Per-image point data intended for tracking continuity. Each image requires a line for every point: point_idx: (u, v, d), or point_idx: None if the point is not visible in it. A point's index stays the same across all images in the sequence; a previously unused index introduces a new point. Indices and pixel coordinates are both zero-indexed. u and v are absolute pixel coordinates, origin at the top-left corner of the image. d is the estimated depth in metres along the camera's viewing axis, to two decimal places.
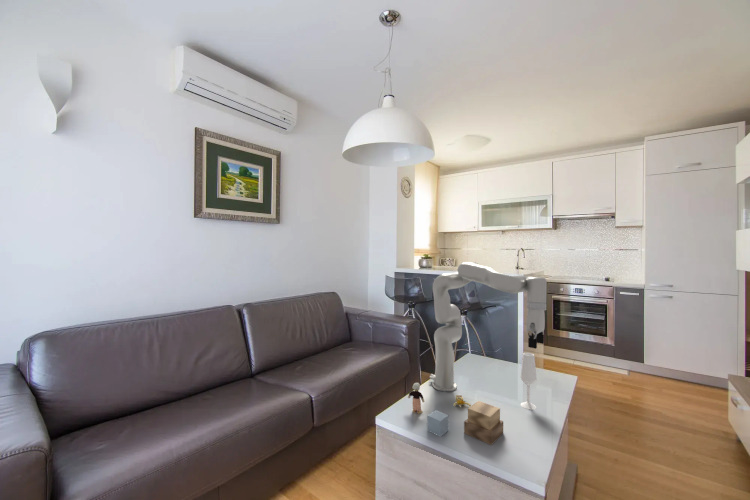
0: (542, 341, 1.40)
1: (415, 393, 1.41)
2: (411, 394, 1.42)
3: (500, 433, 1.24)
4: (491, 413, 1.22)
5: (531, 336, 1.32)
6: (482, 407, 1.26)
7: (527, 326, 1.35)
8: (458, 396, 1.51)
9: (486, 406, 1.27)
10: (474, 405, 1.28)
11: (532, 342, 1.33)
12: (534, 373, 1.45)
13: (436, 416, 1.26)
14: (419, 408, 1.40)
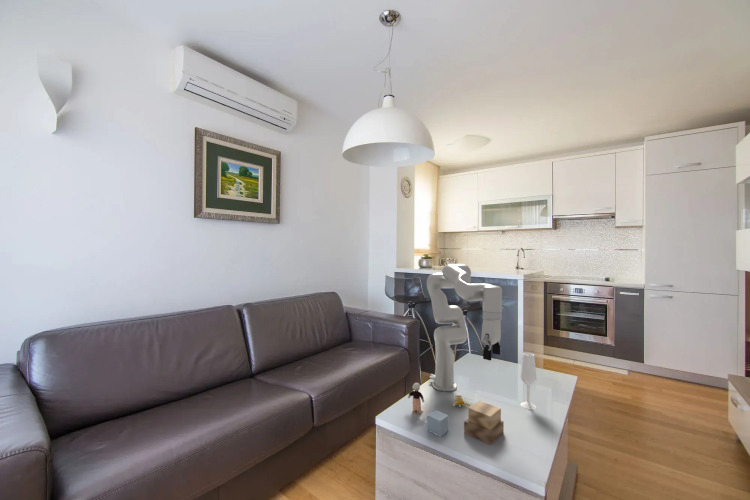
0: (498, 352, 1.35)
1: (415, 393, 1.41)
2: (411, 394, 1.42)
3: (500, 433, 1.24)
4: (491, 413, 1.22)
5: (485, 348, 1.27)
6: (483, 407, 1.26)
7: (482, 337, 1.30)
8: (458, 396, 1.50)
9: (487, 406, 1.27)
10: (475, 405, 1.28)
11: (487, 354, 1.28)
12: (534, 373, 1.45)
13: (436, 416, 1.26)
14: (419, 408, 1.40)
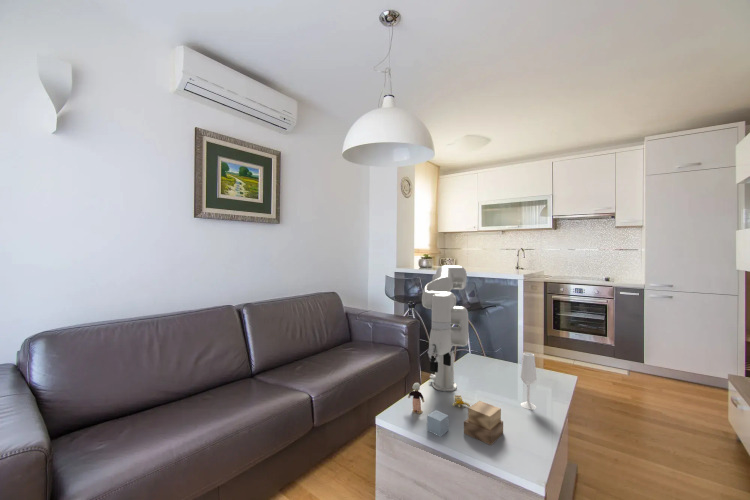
0: (449, 363, 1.30)
1: (415, 393, 1.41)
2: (411, 394, 1.42)
3: (500, 433, 1.23)
4: (491, 413, 1.22)
5: (431, 359, 1.22)
6: (482, 407, 1.26)
7: (429, 348, 1.25)
8: (457, 396, 1.50)
9: (487, 406, 1.27)
10: (474, 405, 1.28)
11: (433, 365, 1.23)
12: (534, 373, 1.45)
13: (436, 416, 1.26)
14: (419, 408, 1.40)
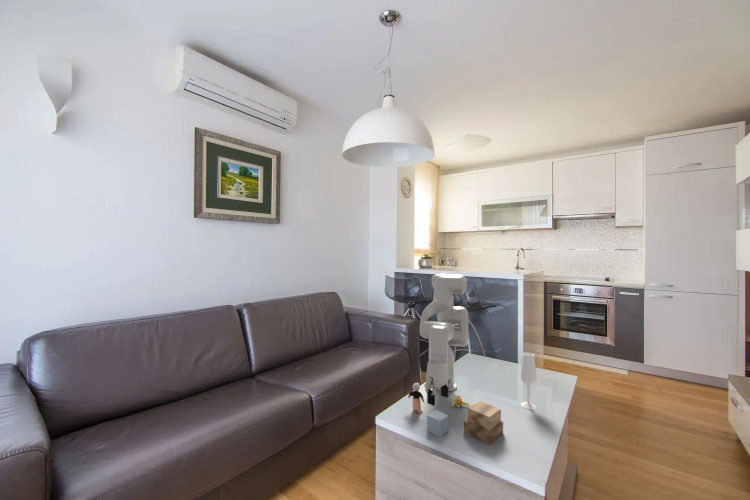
0: (446, 395, 1.29)
1: (415, 393, 1.41)
2: (411, 394, 1.42)
3: (500, 433, 1.23)
4: (491, 413, 1.21)
5: (428, 392, 1.22)
6: (482, 407, 1.26)
7: (426, 380, 1.25)
8: (456, 396, 1.50)
9: (487, 406, 1.27)
10: (474, 405, 1.28)
11: (430, 398, 1.22)
12: (534, 373, 1.45)
13: (436, 416, 1.26)
14: (419, 408, 1.40)
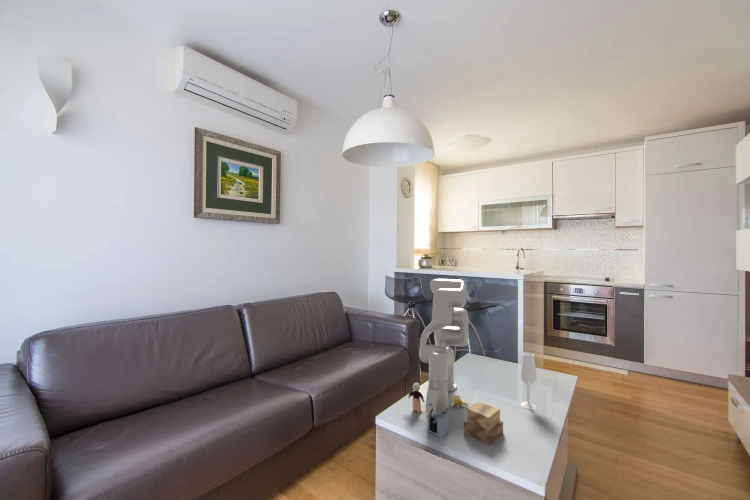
0: None
1: (415, 393, 1.41)
2: (411, 394, 1.42)
3: (500, 433, 1.23)
4: (490, 414, 1.21)
5: (430, 420, 1.23)
6: (481, 408, 1.26)
7: (426, 406, 1.25)
8: (456, 396, 1.50)
9: (486, 407, 1.27)
10: (473, 405, 1.27)
11: (432, 426, 1.24)
12: (534, 373, 1.45)
13: None
14: (419, 408, 1.40)
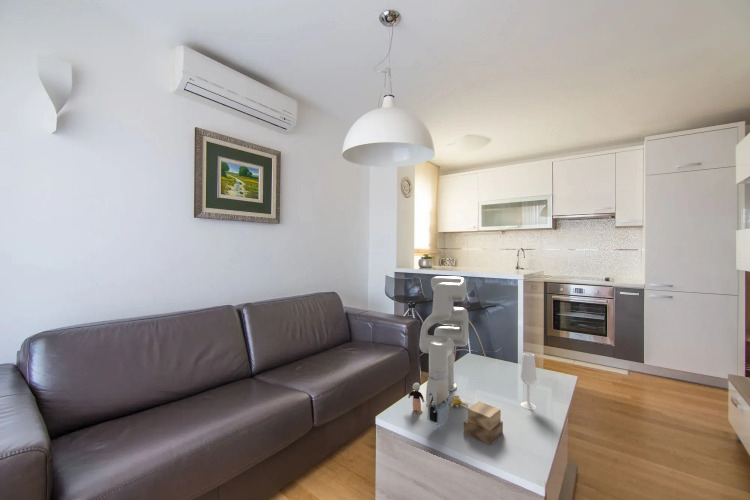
0: None
1: (415, 393, 1.41)
2: (411, 394, 1.42)
3: (500, 433, 1.24)
4: (491, 413, 1.21)
5: (430, 410, 1.23)
6: (482, 408, 1.26)
7: (426, 396, 1.25)
8: (455, 396, 1.50)
9: (486, 407, 1.27)
10: (474, 405, 1.27)
11: (432, 415, 1.24)
12: (534, 373, 1.45)
13: None
14: (419, 408, 1.40)
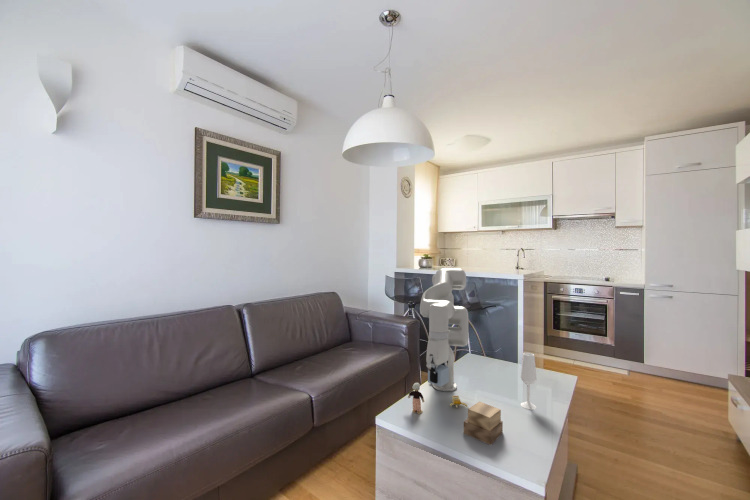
0: None
1: (415, 393, 1.41)
2: (411, 394, 1.42)
3: (499, 433, 1.24)
4: (491, 414, 1.21)
5: (431, 370, 1.23)
6: (482, 408, 1.26)
7: (427, 357, 1.25)
8: (455, 396, 1.50)
9: (487, 407, 1.27)
10: (474, 406, 1.27)
11: (432, 376, 1.24)
12: (534, 373, 1.45)
13: None
14: (419, 408, 1.40)
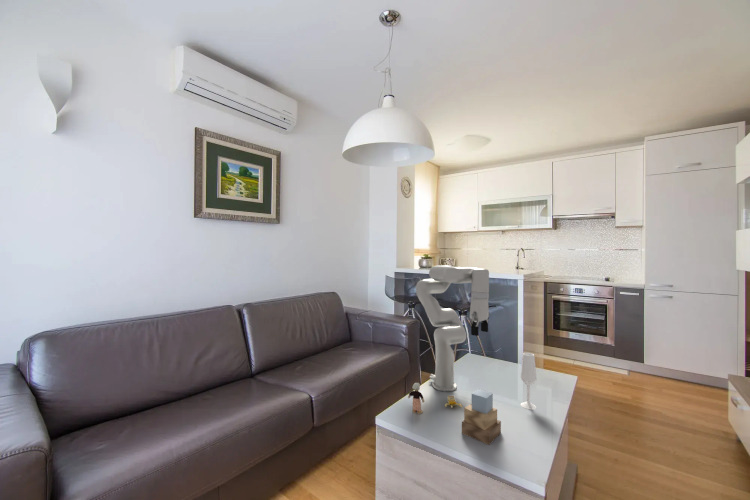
0: (486, 329, 1.47)
1: (415, 393, 1.41)
2: (411, 394, 1.42)
3: (498, 433, 1.24)
4: (487, 413, 1.22)
5: (473, 324, 1.40)
6: None
7: (470, 315, 1.43)
8: (450, 397, 1.50)
9: None
10: (471, 405, 1.28)
11: (474, 330, 1.40)
12: (534, 373, 1.45)
13: (481, 394, 1.24)
14: (419, 408, 1.40)
